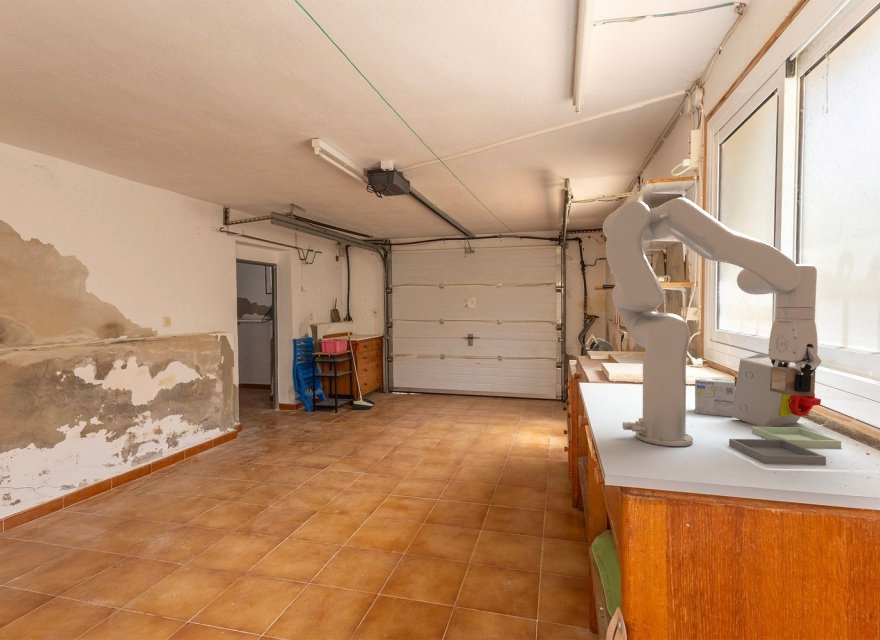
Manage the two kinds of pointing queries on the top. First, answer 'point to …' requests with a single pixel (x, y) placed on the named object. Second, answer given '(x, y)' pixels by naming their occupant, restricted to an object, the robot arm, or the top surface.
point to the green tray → (797, 436)
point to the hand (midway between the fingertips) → (791, 388)
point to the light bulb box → (714, 396)
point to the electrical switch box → (766, 396)
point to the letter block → (788, 381)
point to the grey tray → (777, 451)
